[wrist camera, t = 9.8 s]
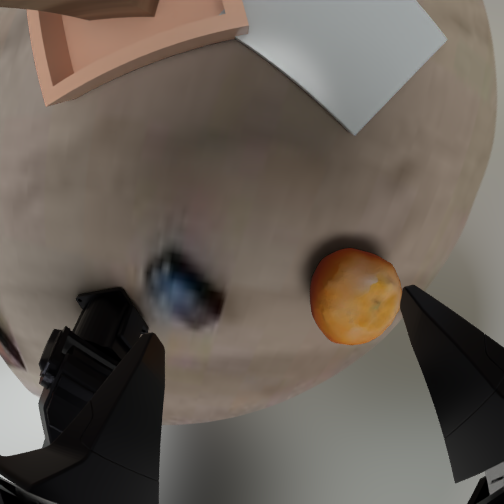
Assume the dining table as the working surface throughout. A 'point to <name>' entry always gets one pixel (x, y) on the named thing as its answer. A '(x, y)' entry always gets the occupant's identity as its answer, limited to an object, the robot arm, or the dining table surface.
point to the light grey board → (343, 49)
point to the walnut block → (89, 7)
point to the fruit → (354, 296)
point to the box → (123, 42)
